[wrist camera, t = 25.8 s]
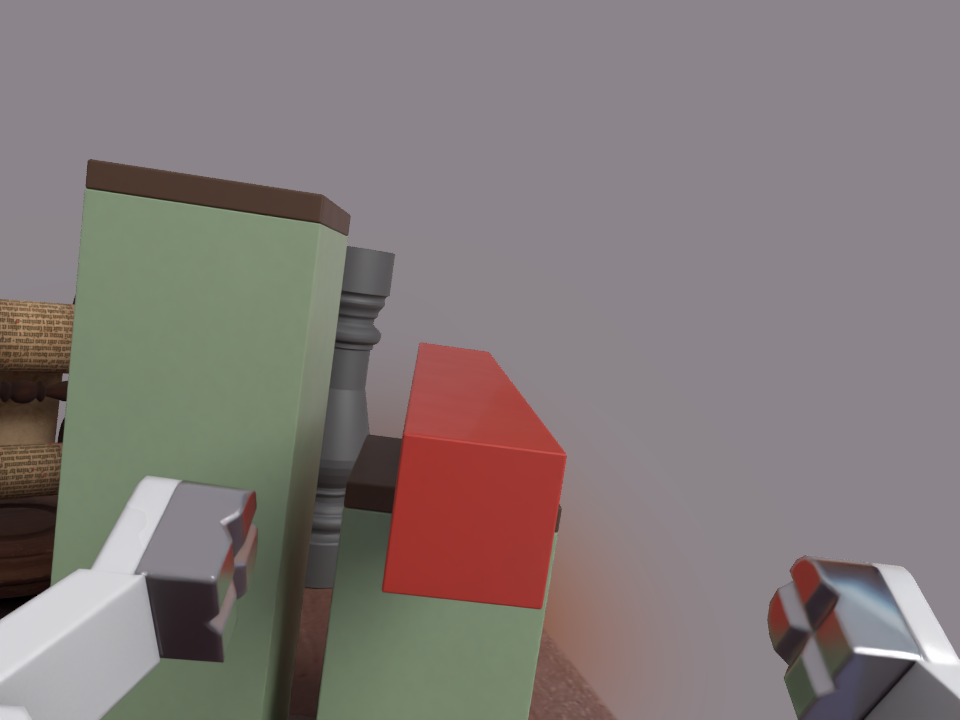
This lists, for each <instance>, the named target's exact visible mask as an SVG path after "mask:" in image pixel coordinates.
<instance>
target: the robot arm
mask: <svg viewBox="0 0 960 720" xmlns="http://www.w3.org/2000/svg"><path fill="white" fill-rule="evenodd" d="M256 509H257V502H256V492H255V491H253V490H249V489H242V488H235V487H228V486H221V485H214V484H208V483H201V482H194V481H187V480H177V479H170V478H163V477H155V476H148V475H147V476H146V477H144V478H143V479H142V480H141V481H140V482H139V483H138V484H137V486H136V488H135V489H134V491H133V493H132V495H131V497H130V498H129V500H128V502H127V504H126V506H125V507H124V509H123V511H122V513H121V515H120V516H119V518H118V520H117V522H116V524H115V525H114V527H113V529H112V531H111V533H110V534H109V536H108V538H107V540H106V542H105V543H104V545H103V547H102V549H101V551H100V552H99V554H98V556H97V558H96V560H95V561H94V563H93V565H92V567H91V569H80V568H79V569H77V570H76V571H74V572H73V573H71V574H69V575H68V576H66V577H65V578H63V579H62V580H60V581H59V582H57V583H56V584H54V585H53V586H51V587H50V588H48V589H46V590H45V591H43V592H42V593H40V594H39V595H37V596H36V597H34V598H33V599H31V600H30V601H28V602H27V603H25V604H23V605H22V606H20V607H19V608H17V609H16V610H14V611H13V612H11V613H10V614H8V615H7V616H5V617H3V618H2V619H0V720H100V719H101V718H102V717H103V716H104V715H105V714H106V713H107V712H108V711H110V710H111V709H112V708H113V707H114V706H115V705H116V704H117V703H118V702H119V701H120V700H121V699H122V698H123V697H124V696H125V695H126V694H127V693H128V692H129V691H131V690H132V689H133V688H134V687H135V686H136V685H137V684H138V683H139V682H140V681H141V680H142V679H143V678H144V677H145V676H146V675H147V674H148V673H149V672H150V671H152V670H153V669H154V668H155V667H156V666H157V665H158V664H159V663H160V658H166V659H180V660H193V661H207V662H220V663H224V660H225V657H226V654H227V651H228V648H229V645H230V642H231V639H232V636H233V633H234V630H235V627H236V624H237V621H238V612H237V600H238V599H239V598H241V597H242V596H243V595H245V594H246V593H247V591H248V588H249V584H250V581H251V578H252V575H253V570H254V565H255V560H256V556H257V546H258V528H257V527H256V526H255V525H254V524H253V523H252V520H253V518H254V515H255V512H256ZM790 573H791V576H792V578H793V581H792V582H790V583H788V584H786V585H784V586H782V587H780V588H778V589H777V591H776V593H775V594H774V596H773V598H772V600H771V602H770V605H769V613H768V628H769V635H770V638H771V641H772V645H773V648H774V650H775V651H776V652H777V653H778V654H779V656H780V657H781V658H782V659H784V661H785V662H786V663H787V664H788V665H789V666H788V669H787V671H786V674H785V676H784V680H785V683H786V686H787V689H788V692H789V694H790V697H791V700H792V703H793V706H794V709H795V712H796V715H797V718H798V720H960V660H959V658H958V656H957V655H956V653H955V651H954V649H953V648H952V646H951V644H950V642H949V641H948V639H947V637H946V635H945V633H944V632H943V630H942V628H941V626H940V625H939V623H938V621H937V619H936V617H935V616H934V614H933V612H932V610H931V609H930V607H929V605H928V603H927V601H926V600H925V598H924V596H923V594H922V593H921V591H920V589H919V587H918V585H917V584H916V582H915V580H914V578H913V577H912V575H911V574H910V573H909V572H908V571H907V570H906V569H905V568H903V567H902V566H893V565H884V564H876V563H866V562H862V561H853V560H843V559H833V558H824V557H815V556H806V555H805V556H803V557H801V558H799V559H797V560H796V562H795V563H794V564H793V566H792V567H791V569H790Z"/></svg>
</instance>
